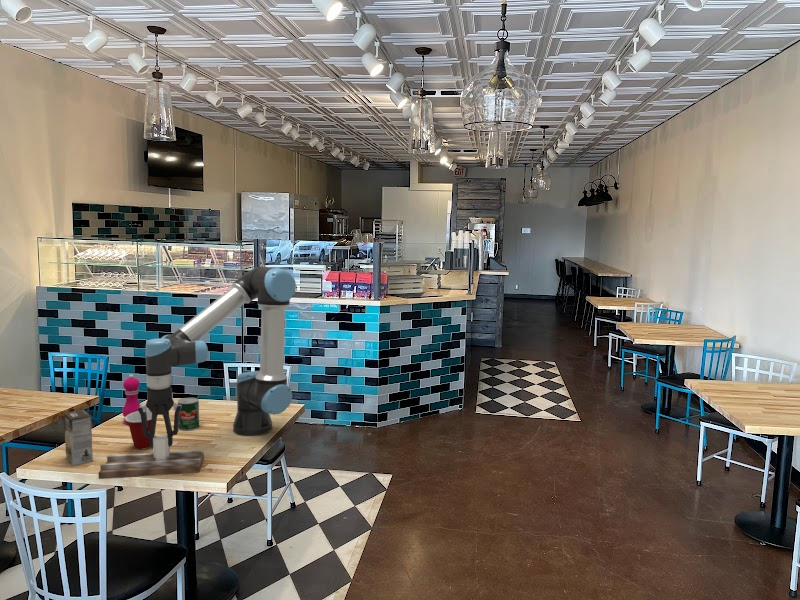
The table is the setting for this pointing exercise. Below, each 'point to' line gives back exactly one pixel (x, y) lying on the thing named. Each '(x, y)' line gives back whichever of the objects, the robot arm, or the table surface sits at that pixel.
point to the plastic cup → (139, 429)
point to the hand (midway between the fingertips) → (161, 455)
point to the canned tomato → (189, 414)
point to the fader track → (151, 464)
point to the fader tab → (160, 448)
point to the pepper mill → (131, 396)
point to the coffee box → (78, 437)
